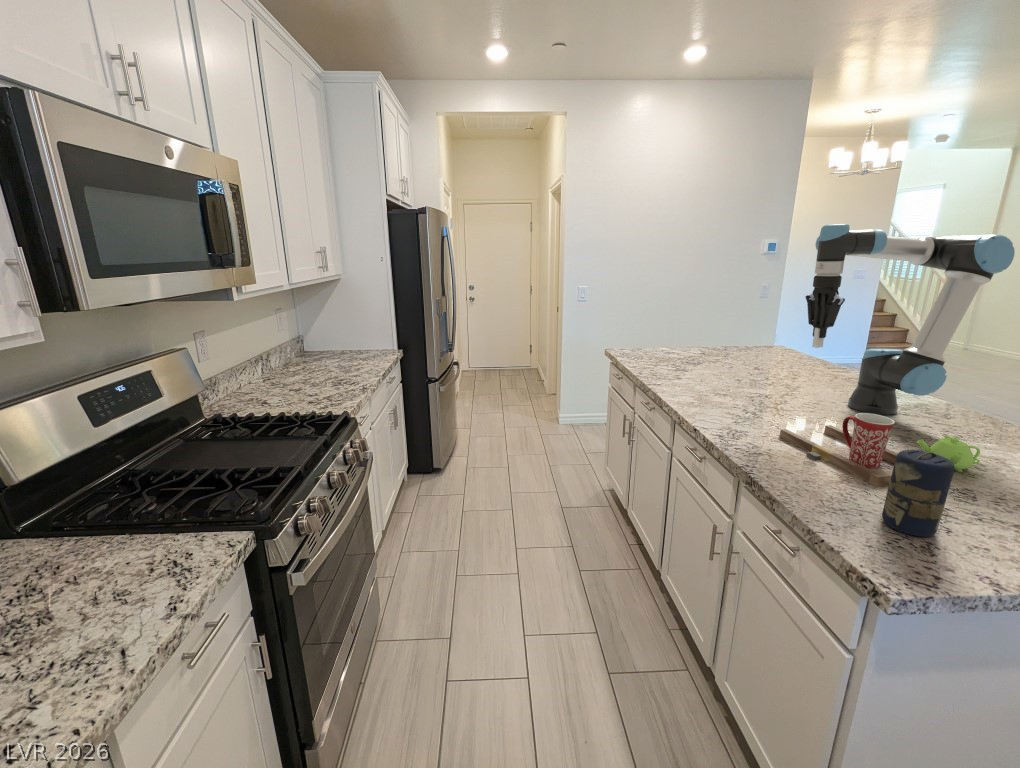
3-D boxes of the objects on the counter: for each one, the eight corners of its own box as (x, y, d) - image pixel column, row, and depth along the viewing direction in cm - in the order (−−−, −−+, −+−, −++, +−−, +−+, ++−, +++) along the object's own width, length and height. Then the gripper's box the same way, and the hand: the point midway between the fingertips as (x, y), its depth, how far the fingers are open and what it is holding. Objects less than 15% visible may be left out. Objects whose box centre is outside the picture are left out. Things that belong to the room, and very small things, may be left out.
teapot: (986, 473, 129) (994, 444, 127) (953, 477, 127) (961, 448, 124) (941, 456, 140) (949, 429, 137) (910, 460, 137) (917, 432, 135)
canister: (869, 516, 109) (886, 443, 104) (908, 514, 109) (926, 442, 104) (906, 541, 99) (927, 463, 94) (948, 539, 100) (970, 460, 95)
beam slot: (836, 431, 159) (838, 424, 158) (944, 477, 126) (947, 469, 126) (771, 437, 154) (772, 430, 153) (866, 487, 122) (868, 478, 121)
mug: (892, 467, 132) (903, 422, 129) (866, 471, 130) (877, 425, 127) (851, 449, 144) (860, 407, 141) (827, 452, 142) (835, 410, 138)
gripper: (801, 274, 157) (792, 344, 164) (836, 276, 145) (824, 351, 152) (820, 273, 159) (810, 342, 166) (856, 275, 147) (844, 349, 153)
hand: (817, 347), depth 159 cm, fingers closed
